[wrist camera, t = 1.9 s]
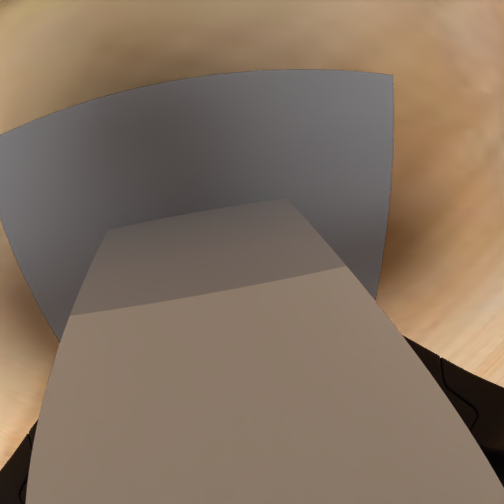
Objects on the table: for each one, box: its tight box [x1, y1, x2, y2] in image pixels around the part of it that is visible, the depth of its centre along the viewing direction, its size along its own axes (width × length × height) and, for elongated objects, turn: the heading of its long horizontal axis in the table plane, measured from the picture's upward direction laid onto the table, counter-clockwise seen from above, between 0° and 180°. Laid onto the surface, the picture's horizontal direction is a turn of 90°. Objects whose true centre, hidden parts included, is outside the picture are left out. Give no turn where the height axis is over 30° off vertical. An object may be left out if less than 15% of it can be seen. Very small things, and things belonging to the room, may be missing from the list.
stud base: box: [0, 69, 394, 342], centre depth 8 cm, size 12×12×4 cm
